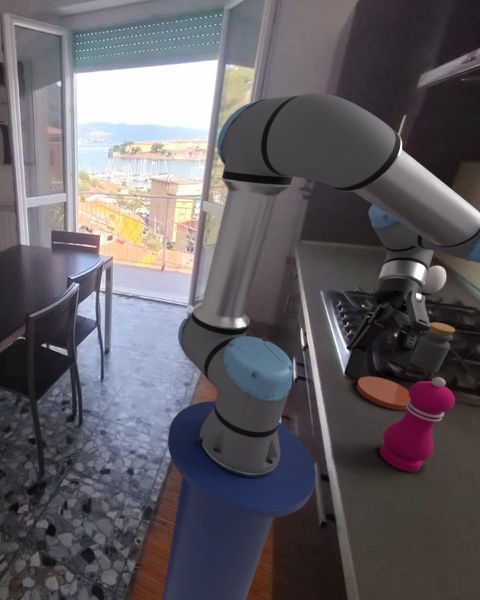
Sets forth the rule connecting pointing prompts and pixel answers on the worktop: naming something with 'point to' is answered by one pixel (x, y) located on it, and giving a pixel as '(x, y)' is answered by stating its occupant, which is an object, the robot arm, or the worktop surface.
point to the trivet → (383, 392)
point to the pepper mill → (417, 425)
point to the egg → (434, 279)
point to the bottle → (433, 347)
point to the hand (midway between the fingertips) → (372, 371)
